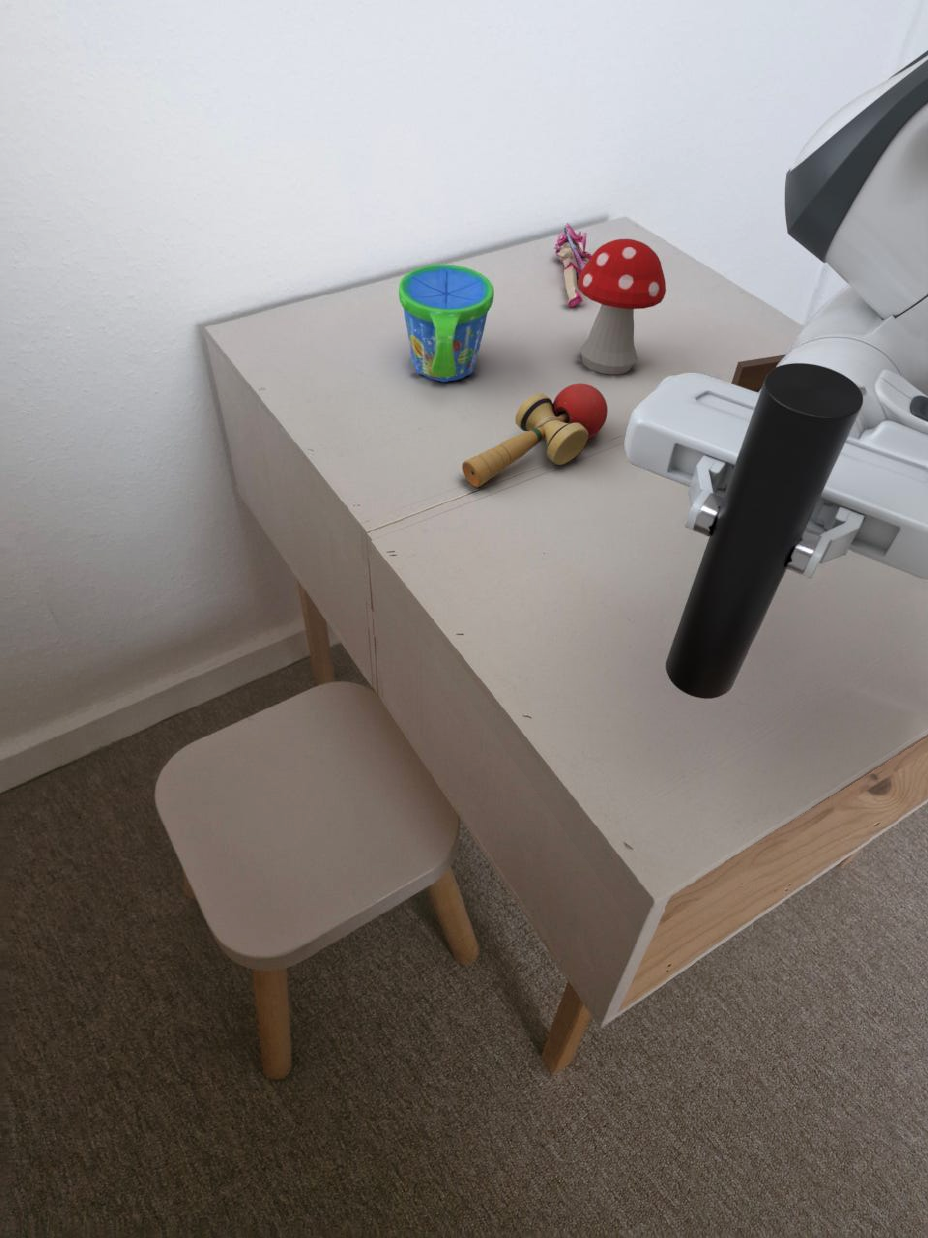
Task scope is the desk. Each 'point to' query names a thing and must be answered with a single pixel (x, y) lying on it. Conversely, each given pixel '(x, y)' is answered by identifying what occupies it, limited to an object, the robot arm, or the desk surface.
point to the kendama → (545, 430)
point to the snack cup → (445, 318)
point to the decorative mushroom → (619, 301)
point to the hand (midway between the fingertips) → (750, 544)
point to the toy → (572, 261)
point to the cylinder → (761, 521)
